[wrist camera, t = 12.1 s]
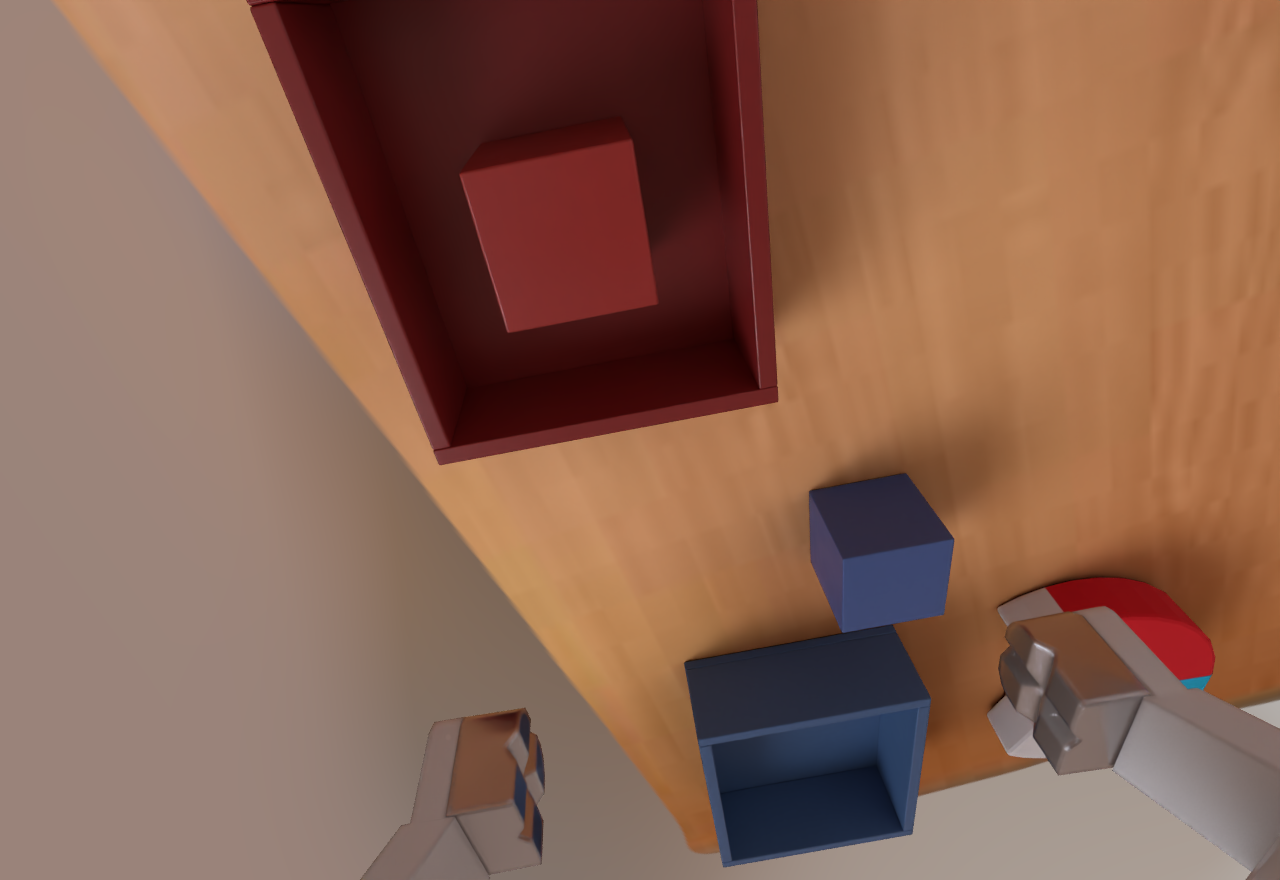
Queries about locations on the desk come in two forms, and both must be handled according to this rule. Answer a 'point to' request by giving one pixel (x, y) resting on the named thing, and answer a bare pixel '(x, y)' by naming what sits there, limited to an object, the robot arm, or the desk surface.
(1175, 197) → the desk surface
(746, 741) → the blue bin
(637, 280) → the red block
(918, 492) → the blue block
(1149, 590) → the magnet
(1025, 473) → the desk surface
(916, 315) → the desk surface
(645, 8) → the red bin
